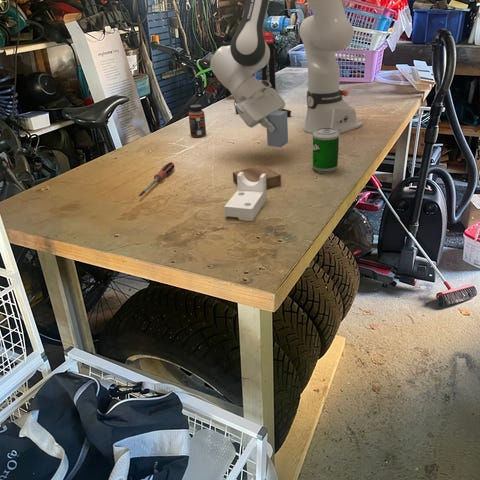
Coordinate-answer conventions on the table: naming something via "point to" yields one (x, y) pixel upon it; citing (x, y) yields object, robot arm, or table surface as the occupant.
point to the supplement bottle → (197, 121)
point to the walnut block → (256, 172)
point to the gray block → (278, 129)
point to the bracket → (247, 198)
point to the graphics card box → (269, 69)
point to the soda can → (325, 150)
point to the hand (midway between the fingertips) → (279, 127)
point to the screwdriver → (160, 175)
